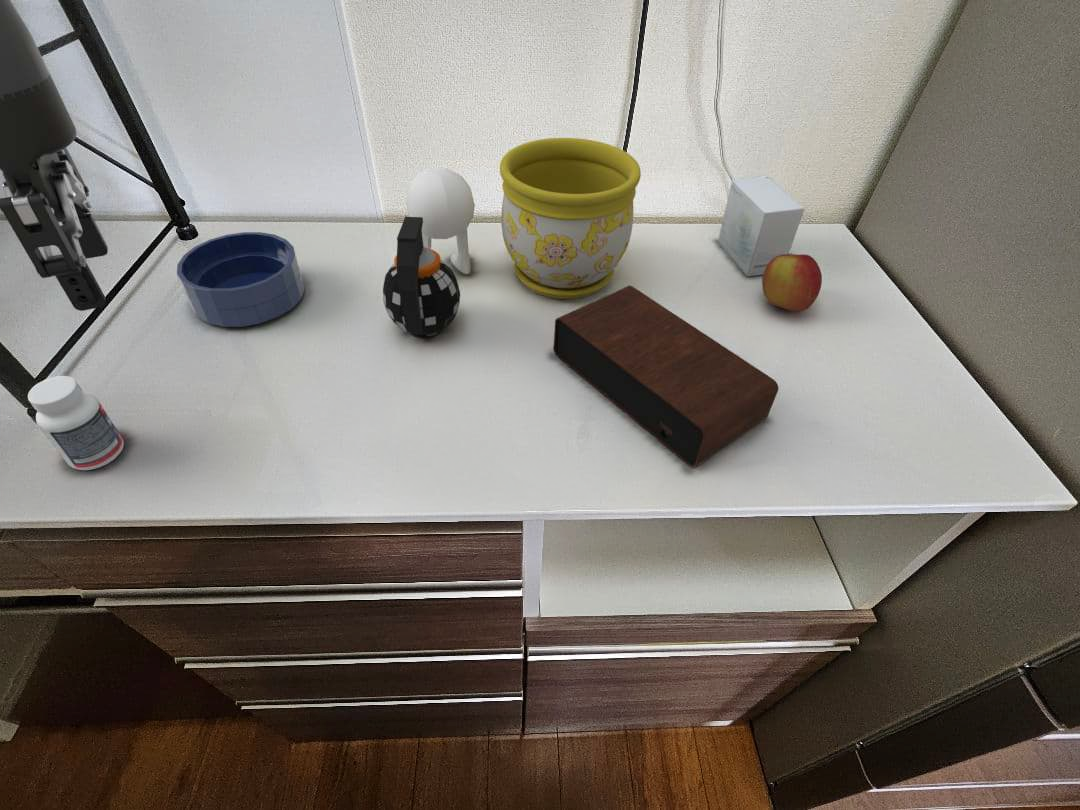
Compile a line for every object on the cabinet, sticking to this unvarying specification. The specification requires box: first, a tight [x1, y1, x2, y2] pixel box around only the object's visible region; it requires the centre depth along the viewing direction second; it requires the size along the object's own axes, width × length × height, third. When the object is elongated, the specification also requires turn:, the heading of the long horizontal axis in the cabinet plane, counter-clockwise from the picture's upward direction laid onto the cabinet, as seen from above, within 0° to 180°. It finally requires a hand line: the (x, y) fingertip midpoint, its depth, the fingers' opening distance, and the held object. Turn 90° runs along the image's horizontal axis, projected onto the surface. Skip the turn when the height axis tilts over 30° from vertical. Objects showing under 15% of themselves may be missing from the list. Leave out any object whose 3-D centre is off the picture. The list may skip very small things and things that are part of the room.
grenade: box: [382, 216, 461, 339], centre depth 75 cm, size 11×10×15 cm
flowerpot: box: [499, 137, 642, 300], centre depth 85 cm, size 18×18×16 cm
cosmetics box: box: [717, 174, 805, 277], centre depth 92 cm, size 10×6×10 cm, turn 13°
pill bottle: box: [27, 375, 125, 471], centre depth 62 cm, size 5×5×9 cm
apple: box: [761, 253, 823, 313], centre depth 84 cm, size 8×8×8 cm
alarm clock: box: [553, 285, 779, 468], centre depth 72 cm, size 24×12×6 cm, turn 38°
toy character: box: [405, 167, 476, 275], centre depth 86 cm, size 9×9×15 cm
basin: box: [176, 231, 305, 328], centre depth 83 cm, size 14×14×6 cm
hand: (94, 279), depth 54 cm, fingers open, 8 cm apart
